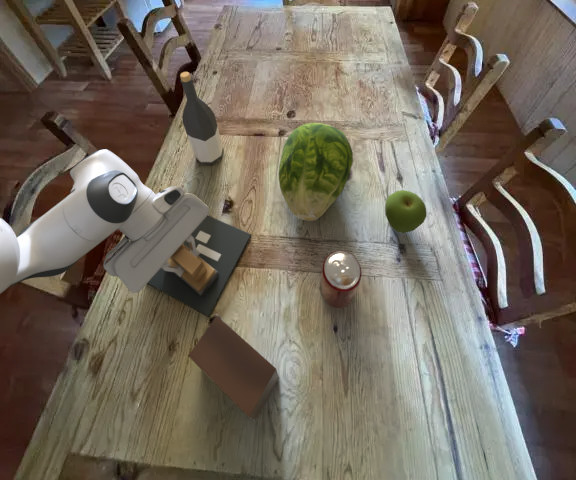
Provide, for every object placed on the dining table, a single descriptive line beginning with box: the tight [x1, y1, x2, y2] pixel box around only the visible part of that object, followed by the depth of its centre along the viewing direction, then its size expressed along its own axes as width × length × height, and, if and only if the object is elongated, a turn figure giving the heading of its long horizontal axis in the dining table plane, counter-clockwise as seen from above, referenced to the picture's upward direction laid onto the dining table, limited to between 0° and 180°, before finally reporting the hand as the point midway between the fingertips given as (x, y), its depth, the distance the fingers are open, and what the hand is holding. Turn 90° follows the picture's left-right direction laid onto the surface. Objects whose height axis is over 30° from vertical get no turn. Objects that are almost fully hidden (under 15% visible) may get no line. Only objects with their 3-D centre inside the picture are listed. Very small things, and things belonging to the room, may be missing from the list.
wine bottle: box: [179, 71, 224, 166], centre depth 87 cm, size 8×8×30 cm
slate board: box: [147, 214, 252, 318], centre depth 76 cm, size 18×16×1 cm
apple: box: [384, 189, 427, 234], centre depth 77 cm, size 9×8×12 cm
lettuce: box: [278, 122, 354, 222], centre depth 83 cm, size 18×23×19 cm
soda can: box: [319, 249, 363, 309], centre depth 67 cm, size 7×7×12 cm
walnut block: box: [187, 315, 280, 422], centre depth 58 cm, size 7×13×11 cm, turn 55°
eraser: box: [167, 244, 219, 297], centre depth 71 cm, size 5×11×8 cm, turn 55°
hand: (189, 264), depth 71 cm, fingers closed on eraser, 3 cm apart
